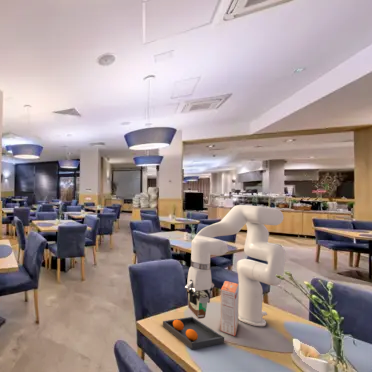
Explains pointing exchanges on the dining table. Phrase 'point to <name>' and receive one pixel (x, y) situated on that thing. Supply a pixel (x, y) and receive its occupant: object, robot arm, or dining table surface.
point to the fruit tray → (204, 333)
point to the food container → (199, 304)
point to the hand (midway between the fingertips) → (199, 301)
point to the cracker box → (229, 307)
